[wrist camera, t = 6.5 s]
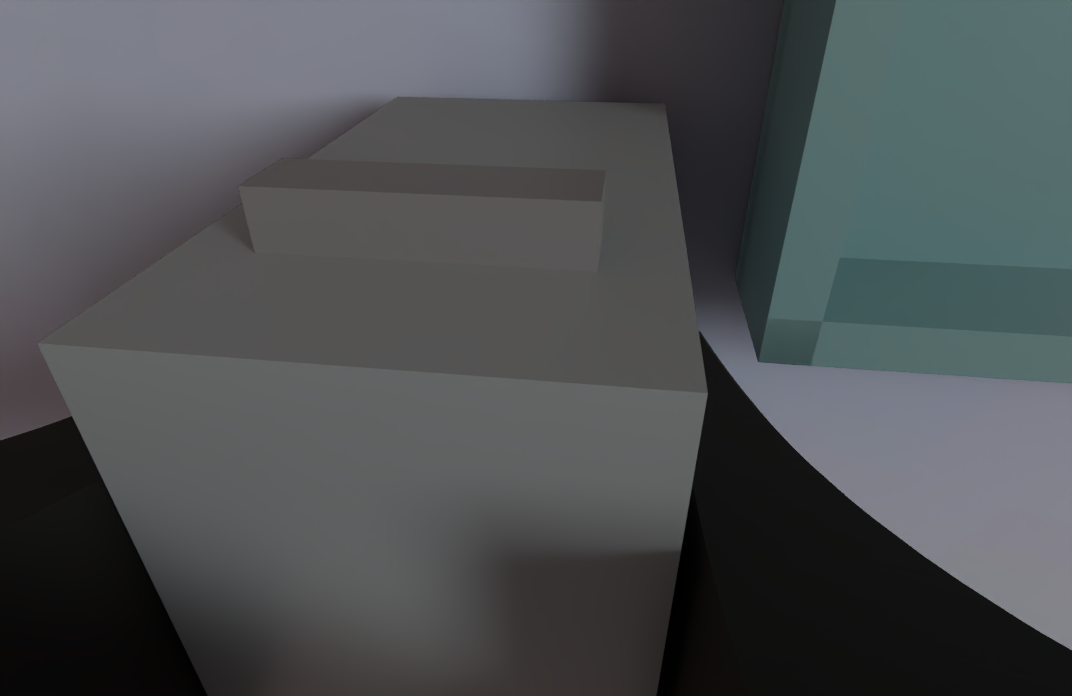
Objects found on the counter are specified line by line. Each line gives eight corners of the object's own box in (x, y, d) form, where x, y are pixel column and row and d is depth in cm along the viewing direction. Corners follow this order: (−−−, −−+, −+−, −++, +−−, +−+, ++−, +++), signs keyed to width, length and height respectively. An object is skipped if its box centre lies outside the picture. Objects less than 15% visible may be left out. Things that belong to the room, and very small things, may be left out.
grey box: (632, 435, 14) (626, 872, 8) (433, 419, 15) (265, 814, 8) (668, 64, 10) (722, 306, 4) (392, 58, 11) (-2, 263, 4)
